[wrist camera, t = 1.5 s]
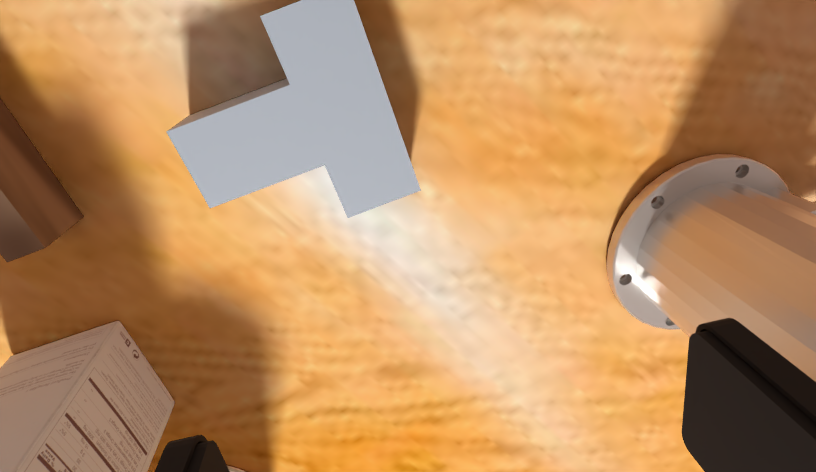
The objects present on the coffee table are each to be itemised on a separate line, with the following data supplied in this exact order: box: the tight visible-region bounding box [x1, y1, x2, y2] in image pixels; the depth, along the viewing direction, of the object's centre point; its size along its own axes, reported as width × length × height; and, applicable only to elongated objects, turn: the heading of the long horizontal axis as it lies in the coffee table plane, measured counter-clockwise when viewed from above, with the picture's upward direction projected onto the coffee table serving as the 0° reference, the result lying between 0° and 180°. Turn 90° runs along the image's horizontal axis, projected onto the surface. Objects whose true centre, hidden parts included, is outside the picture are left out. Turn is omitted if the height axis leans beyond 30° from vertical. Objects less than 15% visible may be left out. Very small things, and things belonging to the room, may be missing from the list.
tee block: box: [167, 0, 421, 218], centre depth 25 cm, size 10×10×4 cm
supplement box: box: [0, 321, 175, 472], centre depth 26 cm, size 7×7×13 cm
